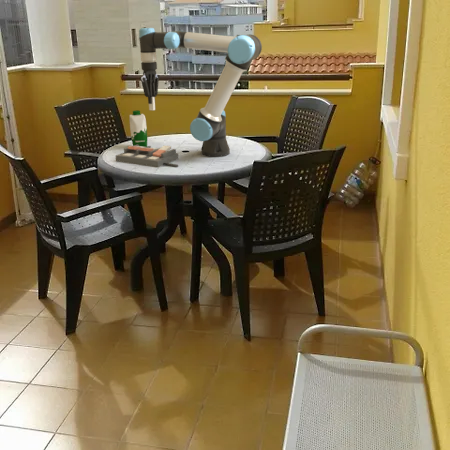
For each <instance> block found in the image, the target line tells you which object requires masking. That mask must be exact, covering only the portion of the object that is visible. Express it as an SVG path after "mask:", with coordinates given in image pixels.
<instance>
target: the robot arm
mask: <svg viewBox="0 0 450 450" xmlns="http://www.w3.org/2000/svg"><path fill="white" fill-rule="evenodd" d="M138 40H139V48H140V49H139V50H140V60H141V63H140V64H141V70H142V72H143V73H142V76H141V77H139V80H140V82H141V86H142V89H143V95H144V96H145V97H146V98H147V101H148V102H147V103H148V111H156V97H157V95H159V82H160V76H161V75H160V74H157V69H158V63H157V51H156V49H158V50H159V49H160V50H162V49H163V50H164V49H165V50H167V49H169V50H172V49H178V48H181V49H193V50H202V51H210V52H219V53H227V54H226V56H225V58H224V60H225V64H224V67H223V70H222V72H221V73H220V76H219V78H218V80H217V81H216V84H215V85H214V88H213V90H212V92H211V94H210V96H209V97H208V100H207V102H206V104H205V105H204V107H201V108H200V109H199V112H198V113H197V116H196V118H193V120H192V121H191V122H190V125H189V131H190V134H191V135H192V137H193V139H195V140H197V141H199V142H202V145H201V148H200V154H201V156H204V157H210V158H212V157H213V158H219V157H225V156H227V155H230V154H231V153H230V152H231V151H230V145H229V144H228V140H227V128H226V127H227V123H226V122H227V120H226V118H227V116H226V111H225V108H226V105H227V103H228V102H229V100H230V98H231V96H232V94H233V92H234V90H235V88H236V86H237V85H238V82H239V81H240V79H241V77H242V74H243V73H244V72H247V71H248V69H249V68H250V66H251V64H252V62H253V60H256V59H257V58H258V57H259V56H260V55H261V52H262V50H263V49H262V48H263V46H262V42H261V40H260V38H258V37H257V36H256V35H254V34H236V35H235V36H233V35H231V36H230V35H221V34H219V35H218V34H210V33H209V34H208V33H203V32H202V33H200V32H193V31H184V30H175V31H160V32H156V30H155V28H154V27H143V28H142V27H141V28H139V30H138Z"/></svg>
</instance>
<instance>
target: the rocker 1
mask: <svg viewBox="0 0 450 450" xmlns="http://www.w3.org/2000/svg"><path fill="white" fill-rule="evenodd" d="M127 148H128V149H134V150H139V149H140V148H144V147H143V146H133V145H132V146H131V145H130V146H129V145H128V146H127Z"/></svg>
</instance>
